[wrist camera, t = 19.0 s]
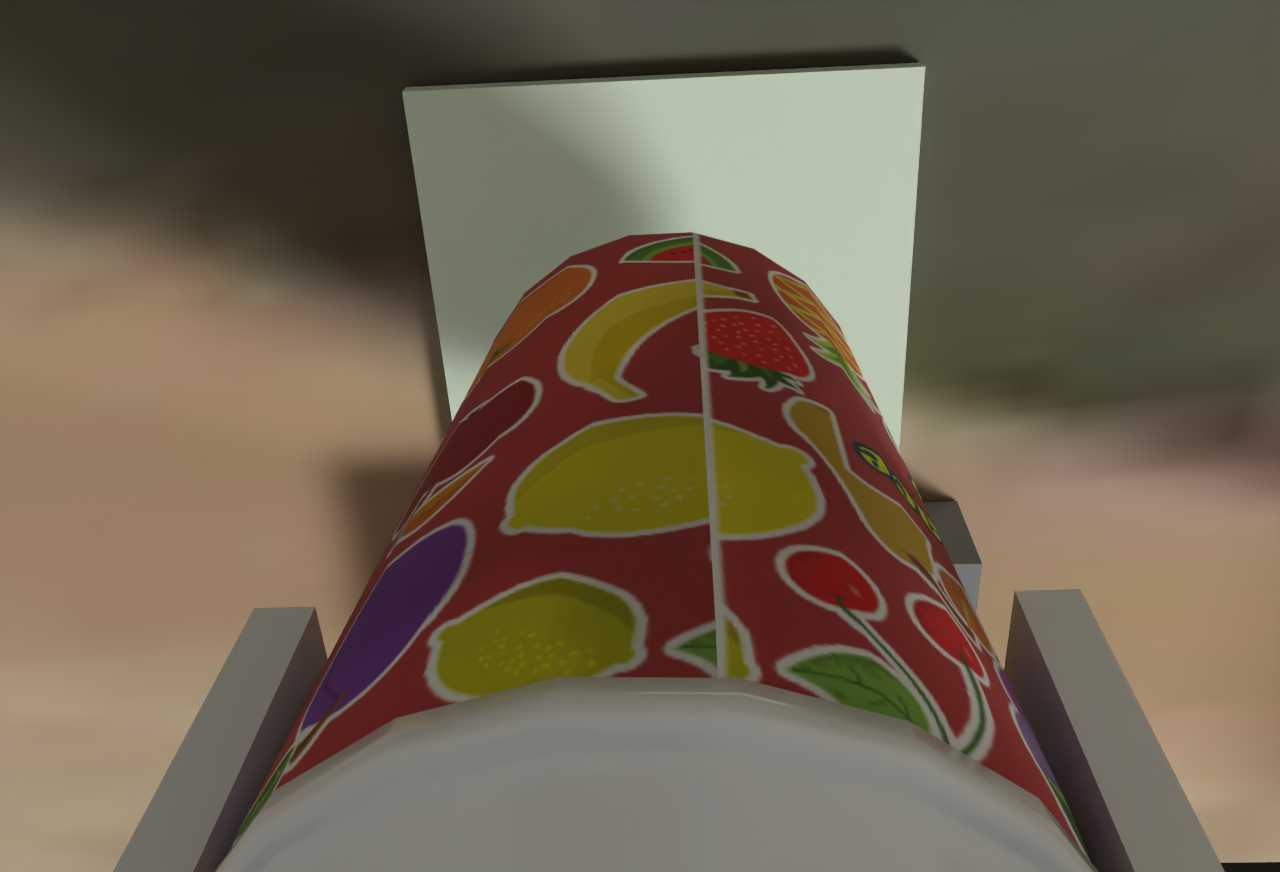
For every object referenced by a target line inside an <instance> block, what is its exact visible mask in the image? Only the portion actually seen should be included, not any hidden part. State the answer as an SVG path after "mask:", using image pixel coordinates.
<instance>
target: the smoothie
mask: <svg viewBox="0 0 1280 872" xmlns="http://www.w3.org/2000/svg"><path fill="white" fill-rule="evenodd" d="M214 872H1099V871H1098V870H1097V869H1096V867H1095V866H1094V865H1093V864H1092V862H1091V861H1090V858H1089V856H1088V853H1087V851H1086V848H1085V846H1084V843H1083V840H1082V838H1081V835H1080V833H1079V830H1078V828H1077V825H1076V822H1075V820H1074V817H1073V815H1072V813H1071V811H1070V809H1069V807H1068V805H1067V802H1066V800H1065V798H1064V796H1063V794H1062V792H1061V790H1060V788H1059V786H1058V784H1057V782H1056V779H1055V777H1054V775H1053V773H1052V771H1051V769H1050V767H1049V765H1048V763H1047V761H1046V758H1045V756H1044V754H1043V752H1042V750H1041V748H1040V746H1039V744H1038V742H1037V740H1036V737H1035V735H1034V733H1033V731H1032V729H1031V727H1030V725H1029V723H1028V721H1027V719H1026V717H1025V714H1024V712H1023V710H1022V708H1021V706H1020V704H1019V702H1018V700H1017V698H1016V696H1015V693H1014V691H1013V689H1012V687H1011V685H1010V683H1009V681H1008V679H1007V677H1006V675H1005V672H1004V670H1003V668H1002V666H1001V664H1000V662H999V660H998V658H997V656H996V654H995V651H994V649H993V647H992V645H991V643H990V641H989V639H988V637H987V635H986V633H985V631H984V628H983V626H982V624H981V622H980V620H979V618H978V616H977V614H976V612H975V610H974V607H973V605H972V603H971V601H970V599H969V597H968V595H967V593H966V591H965V589H964V586H963V584H962V582H961V580H960V578H959V576H958V574H957V572H956V570H955V568H954V566H953V563H952V561H951V559H950V557H949V555H948V553H947V551H946V549H945V547H944V545H943V542H942V540H941V538H940V536H939V534H938V532H937V530H936V528H935V526H934V524H933V521H932V519H931V517H930V515H929V513H928V511H927V509H926V507H925V505H924V503H923V500H922V498H921V496H920V494H919V492H918V490H917V488H916V486H915V484H914V482H913V480H912V477H911V475H910V473H909V471H908V469H907V467H906V465H905V463H904V461H903V459H902V456H901V454H900V452H899V450H898V448H897V446H896V444H895V442H894V440H893V438H892V435H891V433H890V431H889V429H888V427H887V425H886V423H885V421H884V419H883V417H882V415H881V412H880V410H879V408H878V406H877V404H876V402H875V400H874V398H873V396H872V394H871V391H870V389H869V387H868V385H867V383H866V381H865V379H864V377H863V375H862V373H861V370H860V368H859V366H858V364H857V362H856V360H855V358H854V356H853V354H852V352H851V349H850V347H849V345H848V343H847V341H846V339H845V337H844V335H843V333H842V331H841V328H840V326H839V324H838V323H837V322H836V321H835V319H834V318H833V317H832V315H831V314H830V313H829V312H828V310H827V309H826V308H825V307H824V305H823V304H822V303H821V301H820V300H819V299H818V298H817V296H816V295H815V294H814V292H813V291H812V290H811V289H810V287H809V286H808V285H807V283H806V282H805V281H804V280H802V279H800V278H799V277H797V276H796V275H794V274H793V273H791V272H789V271H788V270H786V269H785V268H783V267H782V266H780V265H778V264H777V263H775V262H774V261H772V260H771V259H769V258H768V257H766V256H764V255H763V254H761V253H760V252H758V251H757V250H755V249H753V248H749V247H746V246H742V245H738V244H735V243H731V242H727V241H724V240H720V239H716V238H712V237H709V236H705V235H701V234H698V233H694V232H686V233H665V234H644V235H628V236H626V237H623V238H620V239H617V240H614V241H612V242H609V243H606V244H603V245H601V246H598V247H595V248H592V249H589V250H587V251H584V252H581V253H578V254H576V255H573V256H570V257H569V258H568V259H567V260H565V261H564V262H563V263H562V264H560V265H559V266H558V267H557V268H555V269H554V270H553V271H551V272H550V273H549V274H548V275H546V276H545V277H544V278H543V279H541V280H540V281H539V282H538V283H536V284H535V285H534V286H533V287H531V288H530V289H529V290H528V291H526V292H525V293H524V294H523V296H522V297H521V299H520V301H519V302H518V304H517V305H516V307H515V308H514V310H513V311H512V313H511V315H510V316H509V318H508V319H507V321H506V322H505V324H504V325H503V327H502V329H501V330H500V332H499V333H498V335H497V336H496V338H495V339H494V342H493V344H492V346H491V348H490V350H489V352H488V354H487V356H486V358H485V360H484V362H483V363H482V365H481V367H480V369H479V371H478V373H477V375H476V377H475V379H474V381H473V383H472V385H471V386H470V388H469V390H468V392H467V394H466V396H465V398H464V400H463V402H462V404H461V406H460V408H459V409H458V411H457V413H456V415H455V417H454V419H453V421H452V423H451V425H450V427H449V429H448V431H447V432H446V434H445V436H444V438H443V440H442V442H441V444H440V446H439V448H438V450H437V452H436V454H435V455H434V457H433V459H432V461H431V463H430V465H429V467H428V469H427V471H426V473H425V475H424V477H423V478H422V480H421V482H420V484H419V486H418V488H417V490H416V492H415V494H414V496H413V498H412V500H411V501H410V503H409V505H408V507H407V509H406V511H405V513H404V515H403V517H402V519H401V521H400V523H399V524H398V526H397V528H396V530H395V532H394V534H393V536H392V538H391V540H390V542H389V544H388V546H387V547H386V549H385V551H384V553H383V555H382V557H381V559H380V561H379V563H378V565H377V567H376V569H375V570H374V572H373V574H372V576H371V578H370V580H369V582H368V584H367V586H366V588H365V590H364V592H363V593H362V595H361V597H360V599H359V601H358V603H357V605H356V607H355V609H354V611H353V613H352V615H351V616H350V618H349V620H348V622H347V624H346V626H345V628H344V630H343V632H342V634H341V636H340V638H339V639H338V641H337V643H336V645H335V647H334V649H333V651H332V653H331V655H330V657H329V659H328V661H327V662H326V664H325V666H324V668H323V670H322V672H321V674H320V676H319V678H318V680H317V682H316V684H315V685H314V687H313V689H312V691H311V693H310V695H309V697H308V699H307V701H306V703H305V705H304V707H303V708H302V710H301V712H300V714H299V716H298V718H297V720H296V722H295V724H294V726H293V728H292V730H291V731H290V733H289V735H288V737H287V739H286V741H285V743H284V745H283V747H282V749H281V751H280V753H279V754H278V756H277V758H276V760H275V762H274V764H273V766H272V768H271V770H270V772H269V774H268V776H267V777H266V779H265V781H264V783H263V785H262V787H261V789H260V791H259V793H258V795H257V797H256V799H255V800H254V802H253V804H252V806H251V808H250V810H249V812H248V814H247V816H246V818H245V820H244V821H243V823H242V825H241V827H240V829H239V832H238V834H237V836H236V838H235V841H234V843H233V845H232V848H231V849H230V850H229V852H228V853H227V854H226V856H225V857H224V858H223V860H222V861H221V862H220V864H219V865H218V867H217V868H216V869H215V871H214Z"/></svg>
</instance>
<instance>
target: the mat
mask: <svg viewBox="0 0 1280 872" xmlns="http://www.w3.org/2000/svg"><path fill="white" fill-rule="evenodd" d="M924 77H925V66H924V65H923V64H922V63H901V64H880V65H860V66H839V67H818V68H797V69H776V70H755V71H734V72H713V73H692V74H671V75H651V76H630V77H609V78H588V79H567V80H546V81H525V82H504V83H483V84H463V85H442V86H421V87H406V88H405V89H404V90H403V91H402V95H403V102H404V108H405V115H406V121H407V128H408V134H409V141H410V148H411V154H412V161H413V167H414V174H415V180H416V187H417V194H418V200H419V207H420V213H421V220H422V226H423V233H424V240H425V246H426V253H427V259H428V266H429V273H430V279H431V286H432V292H433V299H434V305H435V312H436V319H437V325H438V332H439V338H440V345H441V351H442V358H443V365H444V371H445V378H446V384H447V391H448V397H449V404H450V411H451V417H452V421H453V419H454V417H455V415H456V413H457V411H458V409H459V408H460V406H461V404H462V402H463V400H464V398H465V396H466V394H467V392H468V390H469V388H470V386H471V385H472V383H473V381H474V379H475V377H476V375H477V373H478V371H479V369H480V367H481V365H482V363H483V362H484V360H485V358H486V356H487V354H488V352H489V350H490V348H491V346H492V344H493V342H494V339H495V338H496V336H497V335H498V333H499V332H500V330H501V329H502V327H503V325H504V324H505V322H506V321H507V319H508V318H509V316H510V315H511V313H512V311H513V310H514V308H515V307H516V305H517V304H518V302H519V301H520V299H521V297H522V296H523V294H524V293H525V292H526V291H528V290H529V289H530V288H531V287H533V286H534V285H535V284H536V283H538V282H539V281H540V280H541V279H543V278H544V277H545V276H546V275H548V274H549V273H550V272H551V271H553V270H554V269H555V268H557V267H558V266H559V265H560V264H562V263H563V262H564V261H565V260H567V259H568V258H569V257H570V256H573V255H576V254H578V253H581V252H584V251H587V250H589V249H592V248H595V247H598V246H601V245H603V244H606V243H609V242H612V241H614V240H617V239H620V238H623V237H626V236H628V235H644V234H665V233H686V232H694V233H698V234H701V235H705V236H709V237H712V238H716V239H720V240H724V241H727V242H731V243H735V244H738V245H742V246H746V247H749V248H753V249H755V250H757V251H758V252H760V253H761V254H763V255H764V256H766V257H768V258H769V259H771V260H772V261H774V262H775V263H777V264H778V265H780V266H782V267H783V268H785V269H786V270H788V271H789V272H791V273H793V274H794V275H796V276H797V277H799V278H800V279H802V280H804V281H805V282H806V283H807V285H808V286H809V287H810V289H811V290H812V291H813V292H814V294H815V295H816V296H817V298H818V299H819V300H820V301H821V303H822V304H823V305H824V307H825V308H826V309H827V310H828V312H829V313H830V314H831V315H832V317H833V318H834V319H835V321H836V322H837V323H838V324H839V326H840V328H841V331H842V333H843V335H844V337H845V339H846V341H847V343H848V345H849V347H850V349H851V352H852V354H853V356H854V358H855V360H856V362H857V364H858V366H859V368H860V370H861V373H862V375H863V377H864V379H865V381H866V383H867V385H868V387H869V389H870V391H871V394H872V396H873V398H874V400H875V402H876V404H877V406H878V408H879V410H880V412H881V415H882V417H883V419H884V421H885V423H886V425H887V427H888V429H889V431H890V433H891V435H892V438H893V440H894V442H895V444H896V446H897V448H898V450H899V445H900V431H901V416H902V401H903V386H904V372H905V357H906V342H907V328H908V313H909V298H910V283H911V269H912V254H913V239H914V224H915V210H916V195H917V180H918V166H919V151H920V136H921V121H922V107H923V92H924Z"/></svg>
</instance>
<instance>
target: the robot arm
mask: <svg viewBox="0 0 1280 872" xmlns="http://www.w3.org/2000/svg"><path fill="white" fill-rule="evenodd" d="M327 661H328V659H327V655H326V651H325V646H324V642H323V638H322V634H321V630H320V625H319V621H318V617H317V613H316V609H315V607H292V608H254V610H253V612H252V613H251V615H250V617H249V619H248V621H247V623H246V625H245V626H244V628H243V630H242V632H241V634H240V636H239V638H238V640H237V641H236V643H235V645H234V647H233V649H232V651H231V653H230V655H229V656H228V658H227V660H226V662H225V664H224V666H223V668H222V669H221V671H220V673H219V675H218V677H217V679H216V681H215V683H214V684H213V686H212V688H211V690H210V692H209V694H208V696H207V697H206V699H205V701H204V703H203V705H202V707H201V709H200V711H199V712H198V714H197V716H196V718H195V720H194V722H193V724H192V725H191V727H190V729H189V731H188V733H187V735H186V737H185V739H184V740H183V742H182V744H181V746H180V748H179V750H178V752H177V753H176V755H175V757H174V759H173V761H172V763H171V765H170V767H169V768H168V770H167V772H166V774H165V776H164V778H163V780H162V782H161V783H160V785H159V787H158V789H157V791H156V793H155V795H154V796H153V798H152V800H151V802H150V804H149V806H148V808H147V810H146V811H145V813H144V815H143V817H142V819H141V821H140V823H139V824H138V826H137V828H136V830H135V832H134V834H133V836H132V838H131V839H130V841H129V843H128V845H127V847H126V849H125V851H124V852H123V854H122V856H121V858H120V860H119V862H118V864H117V866H116V867H115V869H114V871H113V872H214V871H215V869H216V868H217V867H218V865H219V864H220V862H221V861H222V860H223V858H224V857H225V856H226V854H227V853H228V852H229V850H230V849H231V848H232V845H233V843H234V841H235V838H236V836H237V834H238V832H239V829H240V827H241V825H242V823H243V821H244V820H245V818H246V816H247V814H248V812H249V810H250V808H251V806H252V804H253V802H254V800H255V799H256V797H257V795H258V793H259V791H260V789H261V787H262V785H263V783H264V781H265V779H266V777H267V776H268V774H269V772H270V770H271V768H272V766H273V764H274V762H275V760H276V758H277V756H278V754H279V753H280V751H281V749H282V747H283V745H284V743H285V741H286V739H287V737H288V735H289V733H290V731H291V730H292V728H293V726H294V724H295V722H296V720H297V718H298V716H299V714H300V712H301V710H302V708H303V707H304V705H305V703H306V701H307V699H308V697H309V695H310V693H311V691H312V689H313V687H314V685H315V684H316V682H317V680H318V678H319V676H320V674H321V672H322V670H323V668H324V666H325V664H326V662H327ZM1004 672H1005V675H1006V677H1007V679H1008V681H1009V683H1010V685H1011V687H1012V689H1013V691H1014V693H1015V696H1016V698H1017V700H1018V702H1019V704H1020V706H1021V708H1022V710H1023V712H1024V714H1025V717H1026V719H1027V721H1028V723H1029V725H1030V727H1031V729H1032V731H1033V733H1034V735H1035V737H1036V740H1037V742H1038V744H1039V746H1040V748H1041V750H1042V752H1043V754H1044V756H1045V758H1046V761H1047V763H1048V765H1049V767H1050V769H1051V771H1052V773H1053V775H1054V777H1055V779H1056V782H1057V784H1058V786H1059V788H1060V790H1061V792H1062V794H1063V796H1064V798H1065V800H1066V802H1067V805H1068V807H1069V809H1070V811H1071V813H1072V815H1073V817H1074V820H1075V822H1076V825H1077V828H1078V830H1079V833H1080V835H1081V838H1082V840H1083V843H1084V846H1085V848H1086V851H1087V853H1088V856H1089V858H1090V861H1091V862H1092V864H1093V865H1094V866H1095V867H1096V869H1097V870H1098V871H1099V872H1280V862H1266V863H1220V861H1219V859H1218V857H1217V855H1216V853H1215V851H1214V849H1213V848H1212V846H1211V844H1210V842H1209V840H1208V838H1207V836H1206V834H1205V832H1204V830H1203V828H1202V826H1201V824H1200V822H1199V820H1198V818H1197V816H1196V814H1195V812H1194V810H1193V809H1192V807H1191V805H1190V803H1189V801H1188V799H1187V797H1186V795H1185V793H1184V791H1183V789H1182V787H1181V785H1180V783H1179V781H1178V779H1177V777H1176V775H1175V773H1174V771H1173V769H1172V768H1171V766H1170V764H1169V762H1168V760H1167V758H1166V756H1165V754H1164V752H1163V750H1162V748H1161V746H1160V744H1159V742H1158V740H1157V738H1156V736H1155V734H1154V732H1153V730H1152V729H1151V727H1150V725H1149V723H1148V721H1147V719H1146V717H1145V715H1144V713H1143V711H1142V709H1141V707H1140V705H1139V703H1138V701H1137V699H1136V697H1135V695H1134V693H1133V691H1132V689H1131V688H1130V686H1129V684H1128V682H1127V680H1126V678H1125V676H1124V674H1123V672H1122V670H1121V668H1120V666H1119V664H1118V662H1117V660H1116V658H1115V656H1114V654H1113V652H1112V650H1111V648H1110V647H1109V645H1108V643H1107V641H1106V639H1105V637H1104V635H1103V633H1102V631H1101V629H1100V627H1099V625H1098V623H1097V621H1096V619H1095V617H1094V615H1093V613H1092V611H1091V609H1090V608H1089V606H1088V604H1087V602H1086V600H1085V598H1084V596H1083V594H1082V592H1081V590H1080V589H1075V590H1031V591H1015V593H1014V601H1013V608H1012V615H1011V623H1010V630H1009V638H1008V645H1007V653H1006V660H1005V668H1004Z"/></svg>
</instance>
